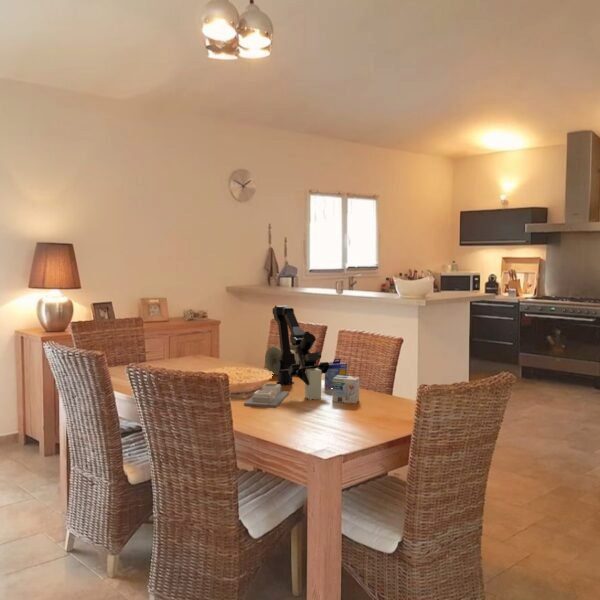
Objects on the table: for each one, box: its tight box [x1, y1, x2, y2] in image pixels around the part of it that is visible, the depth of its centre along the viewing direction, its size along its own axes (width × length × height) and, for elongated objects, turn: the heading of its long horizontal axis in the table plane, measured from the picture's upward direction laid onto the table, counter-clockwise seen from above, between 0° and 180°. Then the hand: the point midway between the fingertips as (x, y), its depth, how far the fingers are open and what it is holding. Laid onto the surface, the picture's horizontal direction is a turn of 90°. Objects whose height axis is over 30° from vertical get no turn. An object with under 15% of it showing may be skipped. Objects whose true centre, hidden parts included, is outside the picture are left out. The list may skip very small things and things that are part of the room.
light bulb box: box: [331, 375, 361, 404], centre depth 279 cm, size 11×7×11 cm, turn 68°
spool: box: [264, 344, 301, 376], centre depth 341 cm, size 16×15×15 cm
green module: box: [304, 368, 322, 401], centre depth 284 cm, size 5×6×13 cm
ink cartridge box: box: [324, 358, 348, 390], centre depth 306 cm, size 10×6×14 cm, turn 115°
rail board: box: [243, 383, 290, 408], centre depth 281 cm, size 26×14×5 cm, turn 169°
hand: (314, 384), depth 283 cm, fingers closed on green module, 6 cm apart
